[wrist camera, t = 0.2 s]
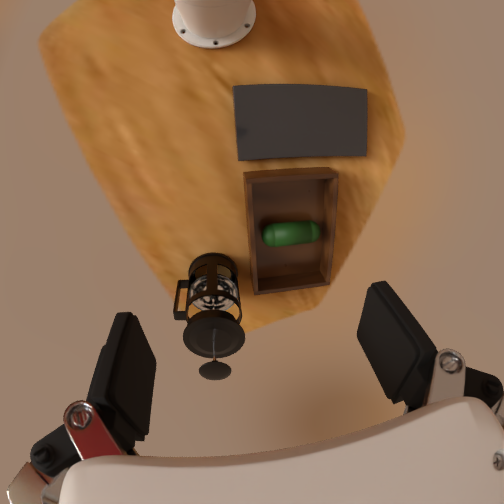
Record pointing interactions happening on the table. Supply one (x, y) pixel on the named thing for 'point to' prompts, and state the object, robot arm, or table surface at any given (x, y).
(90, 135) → the table surface
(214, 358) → the french press
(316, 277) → the brown wooden tray
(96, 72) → the table surface
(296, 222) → the cucumber
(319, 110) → the board
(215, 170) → the table surface
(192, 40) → the robot arm
